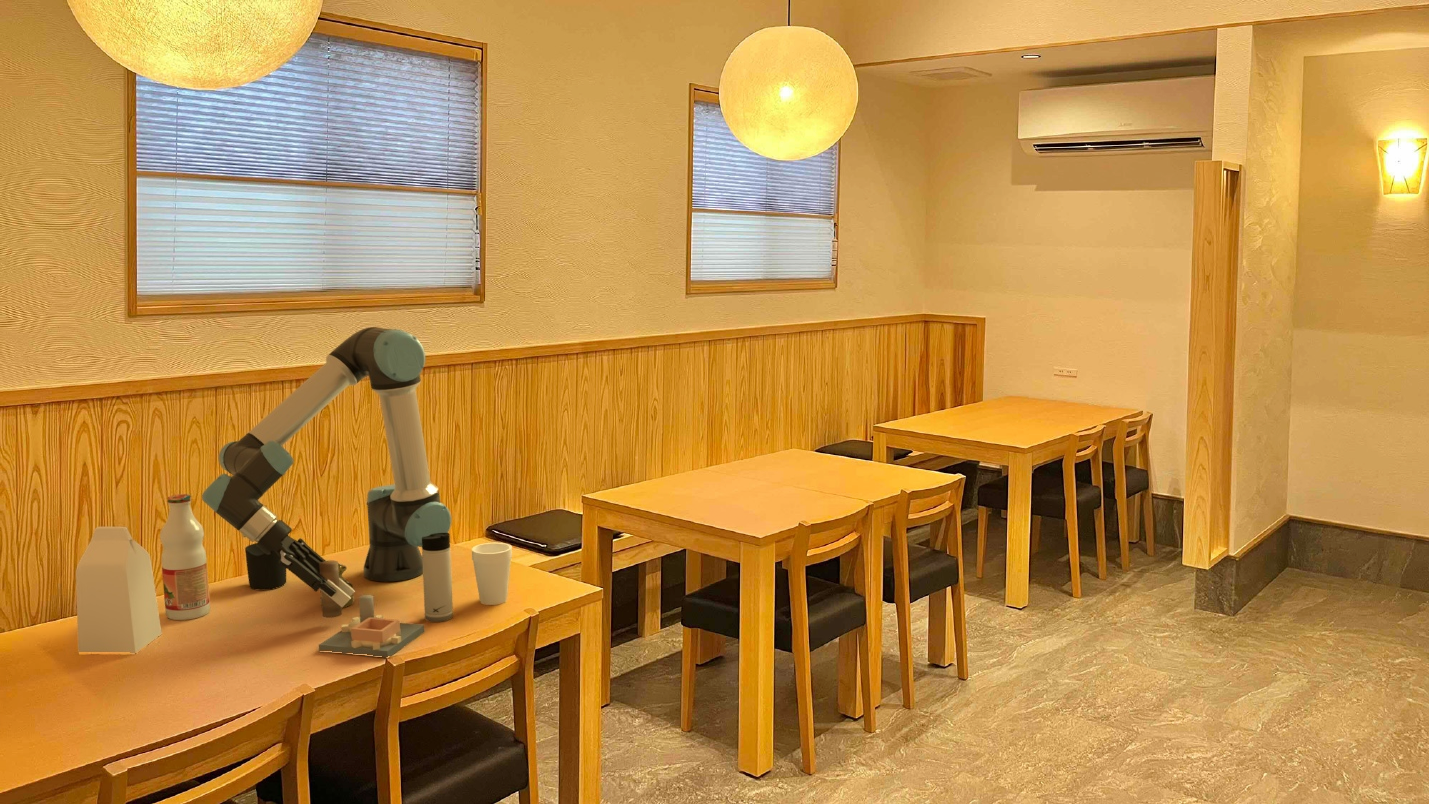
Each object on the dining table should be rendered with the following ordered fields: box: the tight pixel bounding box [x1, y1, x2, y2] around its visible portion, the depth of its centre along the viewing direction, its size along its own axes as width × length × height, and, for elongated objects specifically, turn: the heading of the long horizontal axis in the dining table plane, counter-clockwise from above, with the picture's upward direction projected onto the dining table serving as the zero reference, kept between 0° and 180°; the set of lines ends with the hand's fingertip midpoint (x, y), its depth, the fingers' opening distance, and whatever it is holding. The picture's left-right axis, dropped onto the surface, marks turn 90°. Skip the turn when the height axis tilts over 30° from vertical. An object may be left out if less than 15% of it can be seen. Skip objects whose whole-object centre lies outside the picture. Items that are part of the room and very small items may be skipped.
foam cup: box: [471, 542, 513, 606], centre depth 271 cm, size 10×9×13 cm
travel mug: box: [421, 532, 454, 623], centre depth 259 cm, size 6×7×20 cm
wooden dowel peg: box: [319, 560, 342, 619], centre depth 254 cm, size 4×4×12 cm
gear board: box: [318, 594, 426, 657], centre depth 245 cm, size 16×16×9 cm
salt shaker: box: [319, 562, 354, 609], centre depth 269 cm, size 7×7×10 cm
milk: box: [75, 526, 163, 653], centre depth 242 cm, size 12×12×26 cm
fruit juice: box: [159, 493, 211, 621], centre depth 261 cm, size 9×9×28 cm
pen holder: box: [244, 542, 287, 590], centre depth 283 cm, size 9×9×10 cm
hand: (348, 599), depth 255 cm, fingers closed on wooden dowel peg, 4 cm apart
